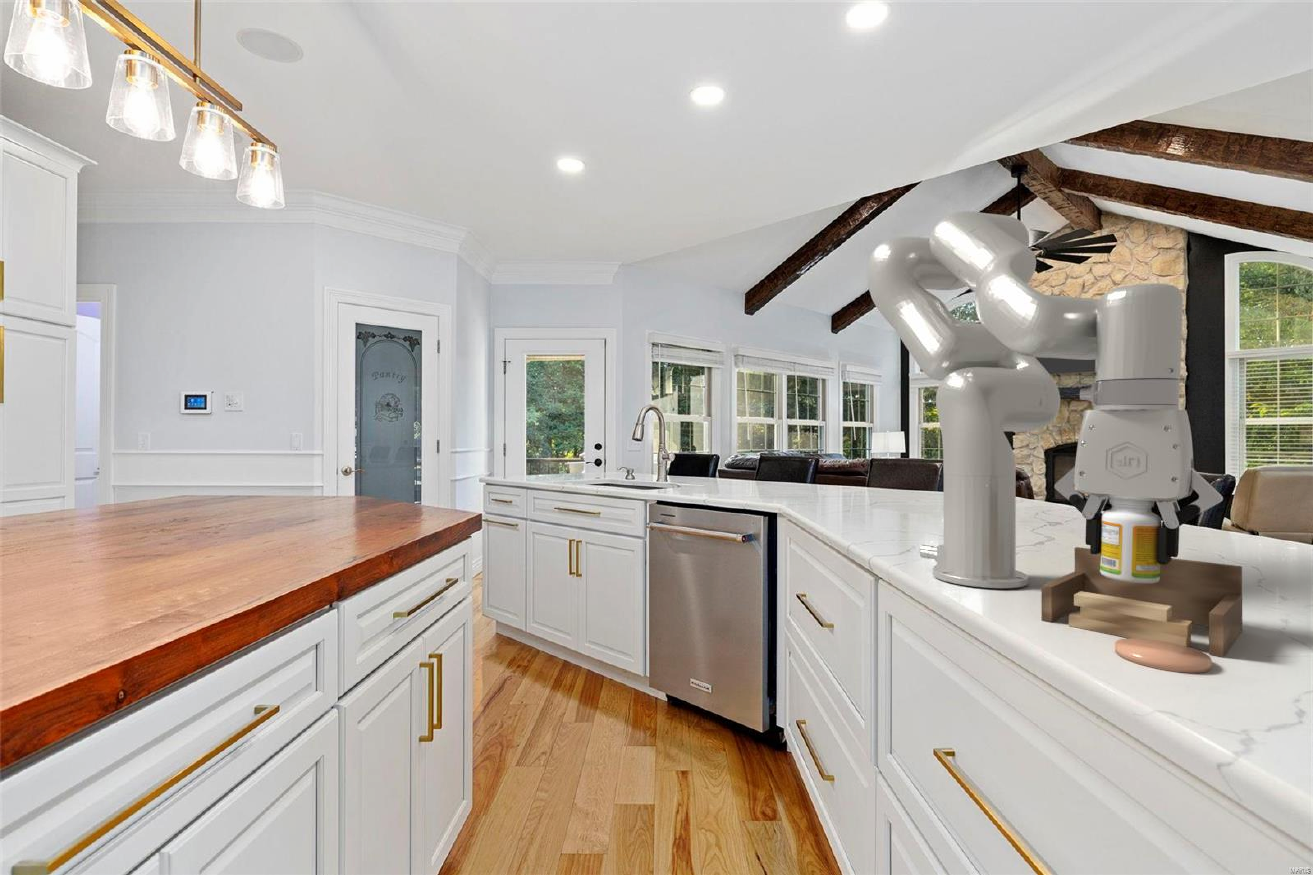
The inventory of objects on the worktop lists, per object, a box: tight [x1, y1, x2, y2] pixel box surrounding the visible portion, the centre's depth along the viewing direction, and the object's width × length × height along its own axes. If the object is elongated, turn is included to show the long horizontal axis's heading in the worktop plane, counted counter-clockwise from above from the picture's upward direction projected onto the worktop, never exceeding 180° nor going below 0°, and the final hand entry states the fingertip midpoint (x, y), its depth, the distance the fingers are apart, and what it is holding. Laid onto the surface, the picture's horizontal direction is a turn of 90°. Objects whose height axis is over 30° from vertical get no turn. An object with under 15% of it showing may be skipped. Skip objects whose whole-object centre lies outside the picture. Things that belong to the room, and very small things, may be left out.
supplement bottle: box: [1100, 497, 1163, 583], centre depth 68 cm, size 5×5×10 cm
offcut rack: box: [1041, 546, 1243, 658], centre depth 68 cm, size 15×13×7 cm
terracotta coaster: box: [1114, 638, 1212, 674], centre depth 57 cm, size 7×7×1 cm
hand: (1129, 555), depth 69 cm, fingers closed on supplement bottle, 5 cm apart
